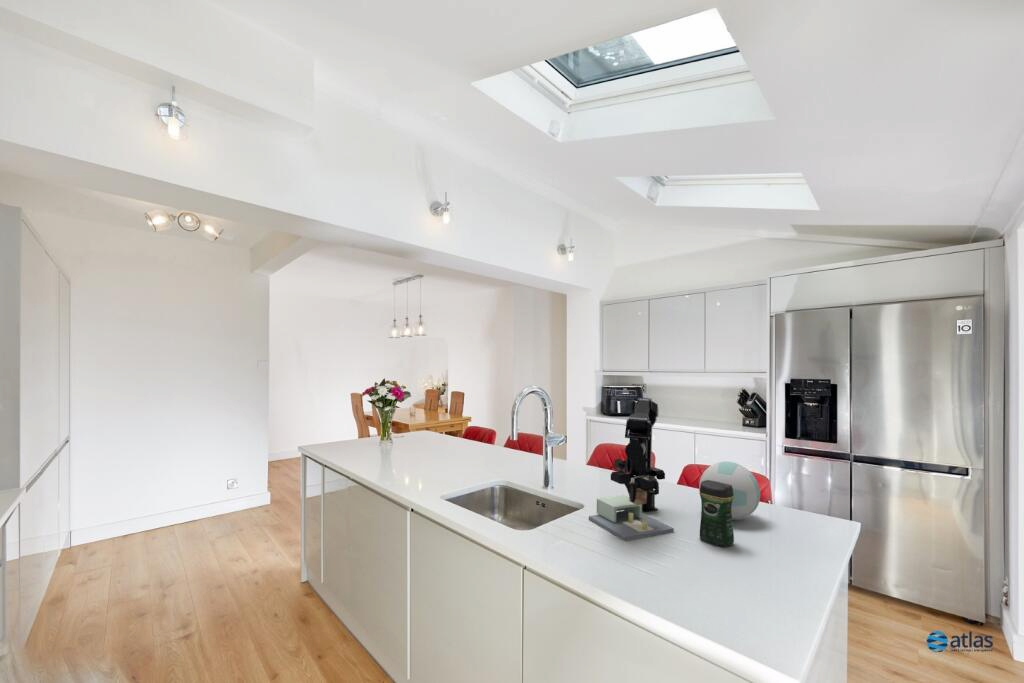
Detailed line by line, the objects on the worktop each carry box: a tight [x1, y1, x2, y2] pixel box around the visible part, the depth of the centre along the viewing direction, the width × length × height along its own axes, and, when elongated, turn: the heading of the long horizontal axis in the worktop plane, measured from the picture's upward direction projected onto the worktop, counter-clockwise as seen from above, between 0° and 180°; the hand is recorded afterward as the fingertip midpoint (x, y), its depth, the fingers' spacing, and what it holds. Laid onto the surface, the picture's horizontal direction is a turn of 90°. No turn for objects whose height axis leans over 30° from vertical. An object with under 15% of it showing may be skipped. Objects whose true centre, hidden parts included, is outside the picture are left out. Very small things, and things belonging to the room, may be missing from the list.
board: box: [588, 510, 675, 542], centre depth 155 cm, size 20×20×4 cm
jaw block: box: [628, 488, 647, 505], centre depth 152 cm, size 4×4×4 cm
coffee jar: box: [698, 480, 735, 547], centre depth 143 cm, size 10×8×19 cm
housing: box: [596, 494, 643, 522], centre depth 163 cm, size 12×14×5 cm
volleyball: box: [698, 461, 761, 521], centre depth 165 cm, size 20×20×20 cm
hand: (637, 501), depth 152 cm, fingers closed on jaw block, 4 cm apart
